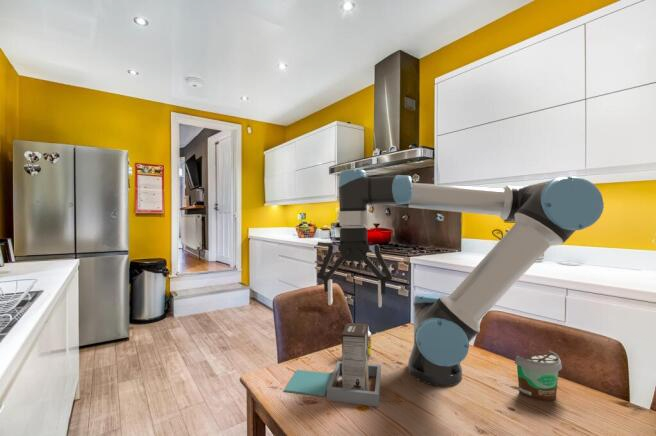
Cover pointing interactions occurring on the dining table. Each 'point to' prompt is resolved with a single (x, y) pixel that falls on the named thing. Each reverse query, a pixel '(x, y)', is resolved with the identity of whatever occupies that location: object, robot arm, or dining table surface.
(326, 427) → the dining table surface
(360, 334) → the coffee box
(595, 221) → the robot arm
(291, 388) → the mat
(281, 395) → the dining table surface
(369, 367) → the square frame
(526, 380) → the food container
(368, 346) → the supplement bottle
